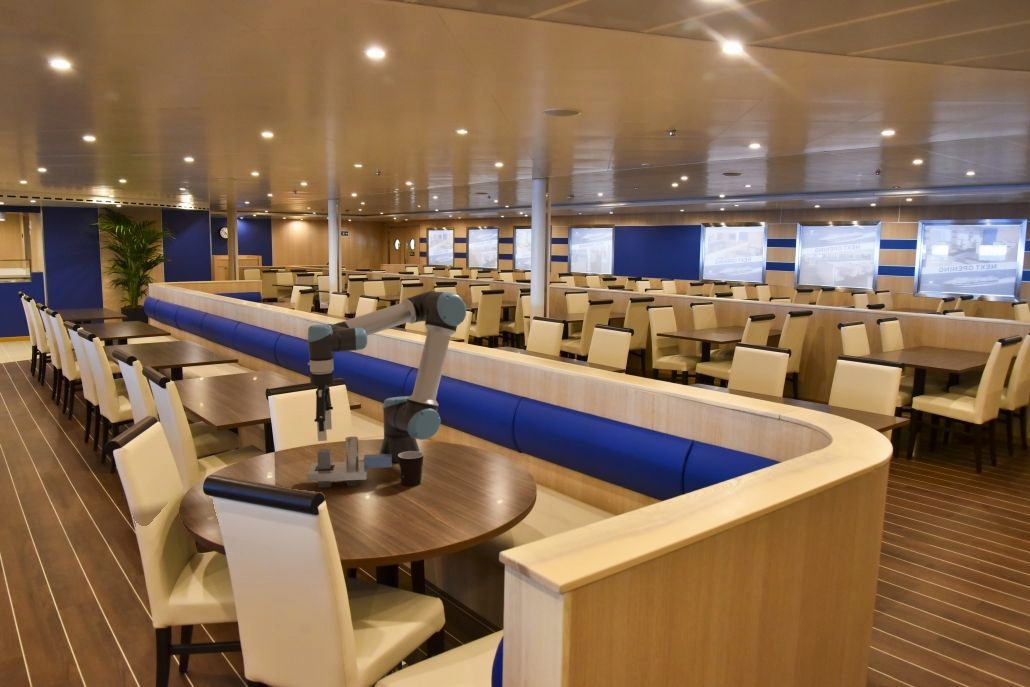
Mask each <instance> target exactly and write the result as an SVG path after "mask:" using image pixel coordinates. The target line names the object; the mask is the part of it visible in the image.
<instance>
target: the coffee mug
mask: <svg viewBox="0 0 1030 687" xmlns="http://www.w3.org/2000/svg"><path fill="white" fill-rule="evenodd" d="M424 456H425V455H424V452H421V451H420V452H418V451H407V452H402V453H399V454H398V460H399V462H398V466H399V472H400V481H401V485H402V486H403V487H409V488H410V487H417V486H419V485H420V486H421V484H422V476H423V475H422V474H423V467H424V465H423V464H424Z"/></svg>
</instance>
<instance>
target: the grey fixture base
mask: <svg viewBox="0 0 1030 687" xmlns="http://www.w3.org/2000/svg"><path fill="white" fill-rule="evenodd" d="M392 465H393V462H392V454H380V453H377V454H375V453H373V454H371V453H370V454H364V457H363V461H362V460H360V461H359V438H358V436H347V437H345V461H336V462H332V471H318V462H312V463H311V465H310V467H309V469H308V470H307V473H306V482H314V483H315V482H318V481H332V482H334V481H335V482H336V481H346V486H348V487H356V486H358V485H359V484H360V481H363V480H367V479H368V474H369V469H381V468H382V469H383V468H384V469H385V468H392Z"/></svg>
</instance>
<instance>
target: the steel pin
mask: <svg viewBox="0 0 1030 687" xmlns="http://www.w3.org/2000/svg"><path fill="white" fill-rule="evenodd" d="M316 456H317V463H318V471H332V448H318V450H317V454H316ZM317 482H318V483H317V484H318V488H319V487H322V488H332V485H333V481H317Z"/></svg>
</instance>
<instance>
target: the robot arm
mask: <svg viewBox="0 0 1030 687" xmlns="http://www.w3.org/2000/svg"><path fill="white" fill-rule="evenodd" d="M466 316H467V305H466V303H465V302H464V299H463V298H462V297H461V296H460V295H458V294H456V293H454V292H453V293H452V292H449V291H445V292H444V291H436V290H435V291H433V290H430V291H425V292H422V293H420V294H415V295H413V296H410V297H407V298H404V299H402V301H401V303H398V304H394V305H391V306H387V307H385V308H382V309H378V310H375V311H372V312H368V313H366V314H363V315H359V316H355V317H353V318H350V319H345V320H343V321H340V322H337V323H333V324H332V323H328V324H327V323H326V324H314V325H310V326H309V327H308V329H307V342H308V344H307V345H308V354H309V355H308V358H309V362H307V365H308V366H309V372H311V373H310V374H309V379H310V382H309V383H310V385H312V386H317V388H316V390H315V396H316V398H315V399H316V401H315V404H316V405H315V407H316V408H315V418H314V422H315V423H316V427H317V428H316V429H317V431H316V432H317V441H318V442H327V441H328V439H327V438H328V436H327V435H328V434H327V430H329V431H330V430H332V429H333V427H332V426H333V425H332V410H334V406H332V399H331V393H330V392H331V390H330V386H331V385H332V384H334V383H335V375H334V374H335V373H334V372H333V371H334V370H335V368H334V366H335V365H334V353H341V352H342V353H343V352H344V353H345V352H351V351H352V352H353V351H358V350H359V351H360V350H364V349H365V348H366V347H367V345H368V336H370V335H373V334H377V333H379V332H382V331H383V332H384V331H385V330H388V329H391V328H394V327H397V326H400V325H404V324H406V323H408V324H415V323H420V322H424V326H425V328H426V330H427V332H426V337H425V340H424V344H423V349H422V351H421V352H422V353H421V357H420V362H419V366H418V369H417V374H416V379H415V382H414V387H413V391H412V394H411V395H405V396H395V397H388V398H386V399H384V401H383V404H382V405H383V406H382V410H383V411H382V412H383V440H382V442H381V446H380V448H379V454H392V463H399V460H398V454H399V453H402V452H407V451H418V452H421V451H420V446H419V444H418V441H417V440H427V439H430V438H432V437H434V436H435V435H436V434H437V433H438V431H439V429H440V427H441V421H442V420H441V417H440V414H439V412H438V409H439V403H438V401H437V395H438V390H439V386H440V381H441V379H442V373H443V369H444V366H445V360H446V358H447V357H446V356H447V353H448V347H449V345H450V344H449V343H450V339H451V336H452V335H454V334H455V333H456V332H457V328H458V326H459V325H461V324H462V323H464V320H465V318H466Z"/></svg>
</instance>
